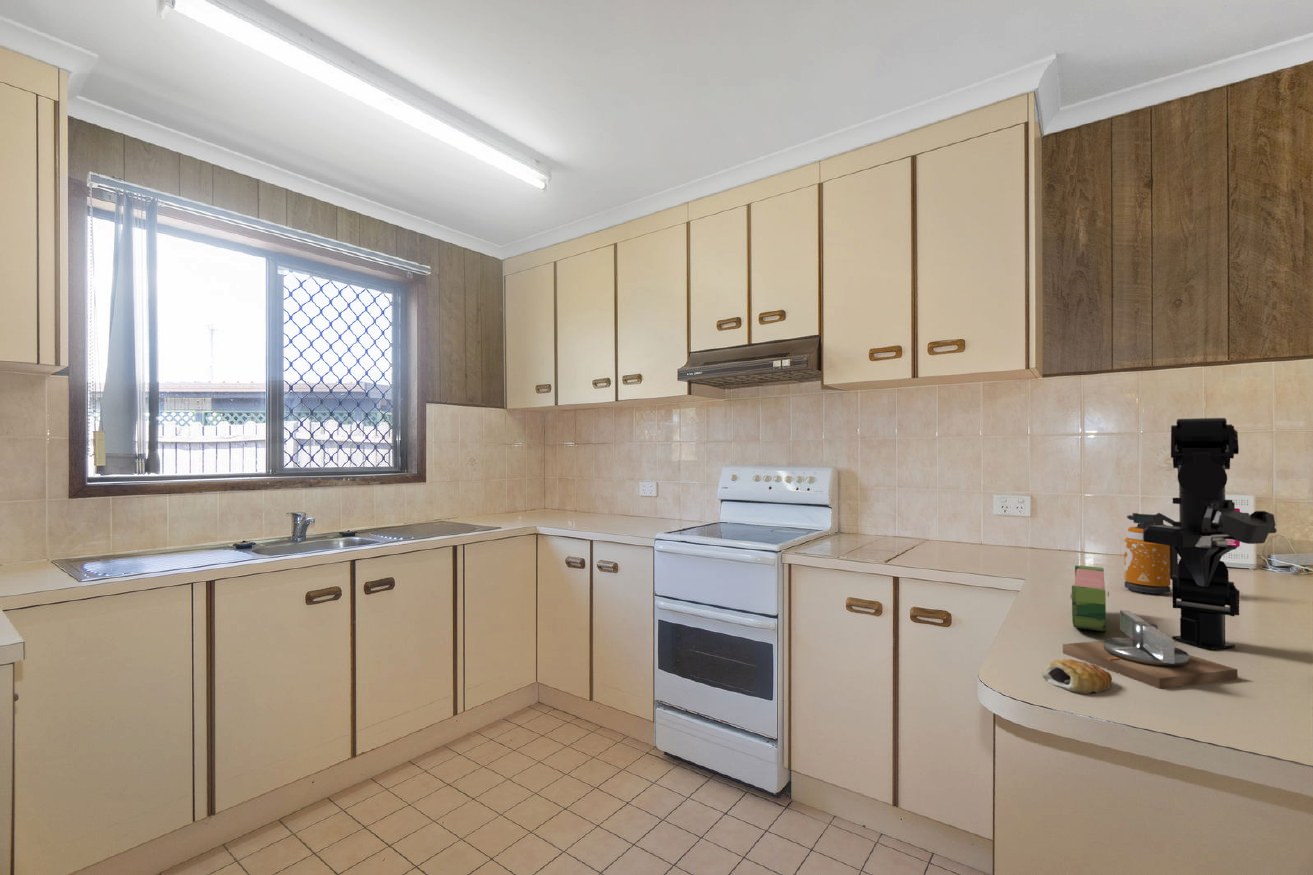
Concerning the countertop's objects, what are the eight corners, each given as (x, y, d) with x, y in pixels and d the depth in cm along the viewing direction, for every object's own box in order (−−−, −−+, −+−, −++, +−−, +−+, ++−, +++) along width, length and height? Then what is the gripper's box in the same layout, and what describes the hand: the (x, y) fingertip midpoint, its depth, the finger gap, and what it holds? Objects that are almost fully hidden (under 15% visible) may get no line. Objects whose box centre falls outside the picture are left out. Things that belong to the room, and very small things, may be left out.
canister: (1122, 586, 157) (1121, 510, 157) (1176, 591, 151) (1176, 512, 152) (1127, 593, 149) (1126, 513, 150) (1185, 599, 144) (1184, 515, 144)
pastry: (1082, 674, 95) (1082, 650, 95) (1126, 691, 89) (1127, 665, 89) (1037, 680, 93) (1037, 656, 93) (1079, 698, 86) (1080, 672, 86)
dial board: (1133, 645, 109) (1133, 636, 109) (1237, 679, 93) (1237, 668, 93) (1062, 652, 105) (1062, 643, 105) (1159, 688, 89) (1159, 677, 89)
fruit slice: (1073, 609, 134) (1072, 564, 134) (1108, 613, 130) (1107, 567, 130) (1069, 638, 113) (1068, 585, 113) (1110, 645, 109) (1110, 590, 109)
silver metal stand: (1199, 652, 100) (1199, 622, 100) (1176, 675, 90) (1176, 642, 90) (1118, 636, 108) (1118, 608, 109) (1089, 655, 98) (1089, 625, 98)
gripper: (1215, 497, 90) (1217, 601, 90) (1303, 495, 94) (1304, 594, 94) (1139, 492, 101) (1140, 585, 100) (1221, 490, 105) (1222, 579, 105)
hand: (1202, 586), depth 100 cm, fingers closed
